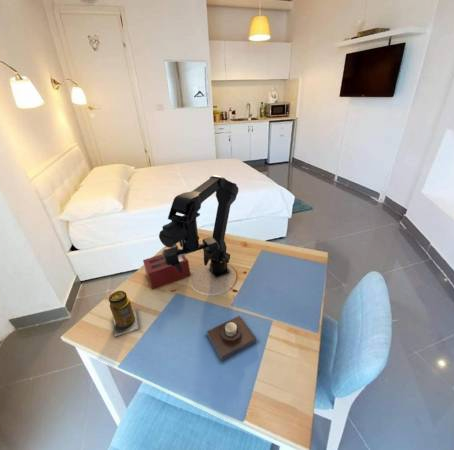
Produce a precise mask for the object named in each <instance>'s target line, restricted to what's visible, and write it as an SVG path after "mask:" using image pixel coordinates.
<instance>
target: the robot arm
mask: <svg viewBox="0 0 454 450" xmlns="http://www.w3.org/2000/svg"><path fill="white" fill-rule="evenodd" d="M238 193H239V187H238V185H237V183H235V182H232V181H230V180H227V179H226V178H225V177H224V176H220V175H210V177H209V178H208V179H207V180H206V181H204V182H203V183H202V184H200V185H199V186H197V187H196V188H195V189H193V190H191V191H187V192H182V193H180V194H178V195H175V197H174V198H173V201H172V203H171V207H170V210H169V213H168V216H167V220H168V221H170V222H169V223H167V224H164V225H162V226H161V227H162V228H161V229H162V230H160V231H159V234H158V238H159V241H160V242H161V244H162V245H163V246H165V247H166V249H163V250H162V252H161V254H163V258H164V260H165V262H166V264H167V265H171V266H176V267H177V268H178V270H179V271H180V273H181V274H182V269H181V265H180V262H179V259H178V257H179V256H183V255H185V256H186V255H189V254H192V253H196V252H197V251H201V250H203V265H204V266H205V267H207V266H208V263H209V271H210V272H211V274H212V275H214V277H215V278H218V277H221V276H224V275H226V274H229V273H230V269H228V264H229V263H230V259H231V254H230V253H228V252H227V248H228V247H227V244H226V241H225V237H226V232H227V225H228V221H229V215H230V211H231V206H232V205H233V203H234V202H235V201H236V200H237V196H238ZM213 194H215V198H216V200H217V208H216V215H215V220H214V224H213V225H214V226H213V231H212V235H211V236H208V237H205V238H203V239H202V242H201V243H200V241H199V240H200V235H199V233H198V232H199V231H198V222H197V218H198V217H200V216H201V213H200V212H199V211H200V210H201V209H202V204H203V202H205V201H206V200H207V199H208V198H210V197H211V196H212V195H213ZM175 244H179V246H180V249H181V248H182V249H181V250H178V251H175V249H174V248H171V247H172V246H174V245H175Z"/></svg>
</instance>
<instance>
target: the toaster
mask: <svg viewBox="0 0 454 450" xmlns="http://www.w3.org/2000/svg"><path fill="white" fill-rule="evenodd" d="M178 250H181V248H178ZM178 259H179V262H180V265H181V269H182V274H181V273H180V271H179V270H178V268H177V267H176V266H171V265H167V264H166V262H165V260H164V258H163V254H162V253H161V254H159V255H155V256H152V257H148V258H145V259H143V260H142V262H143V266H144V270H145V274H146V277H147V279H148V282H149V284H150V287H151V289H152V290H154V289H157V288H160V287H162V286H165V285H168V284H170V283H173V282H175V281H178V280H181V279H184V278H186V277H190V276H191V272H190V265H189V259H188V258H187V257H186V255H183V256H179V257H178Z"/></svg>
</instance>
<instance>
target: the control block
mask: <svg viewBox="0 0 454 450" xmlns="http://www.w3.org/2000/svg"><path fill="white" fill-rule="evenodd" d="M230 322H232V323H235V324H236V326H237V333H236V335H234V336H227V335H226V333H225V326H226V324H227V323H230ZM206 334H207V338H208V339H209V342H210V343H211V344H212V347H213V348H214V350H215V353H216V354H217V355H218V357H219V359H220V362H223V361H225V360H228V359H229V358H231V357H233V356H234V355H236V354H238V353H240V352H241V351H243V350H245V349H247V348H249V347H250V346H252V345H254V344H256V343H257V337H256V336H255V334H254V333H253V332H252V330H251V329H250V328H249V326H248V325H247V324H246V322H245V321H244V319H243V318H242V317H241V315H237V316H236V317H234V318H232V319H230V320H228V321H225V322H223V323H221V324H219V325H217V326H215V327H214V328H210V329H209V330H207V331H206Z"/></svg>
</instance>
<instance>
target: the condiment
mask: <svg viewBox="0 0 454 450" xmlns="http://www.w3.org/2000/svg"><path fill="white" fill-rule="evenodd" d="M108 302H109V309H110V311H111V314H112V317H113V333H114V337H119V336H121V335H124V334H127V333H130V332H132V331H135V330H139V324H138V317H137V311H136V310H134V309H133V306H132V304H131V301H130V297H128V295H127V292H126V291H124V290H117V291H114V292H112V293H111V294H110V296H109V297H108Z"/></svg>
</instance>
